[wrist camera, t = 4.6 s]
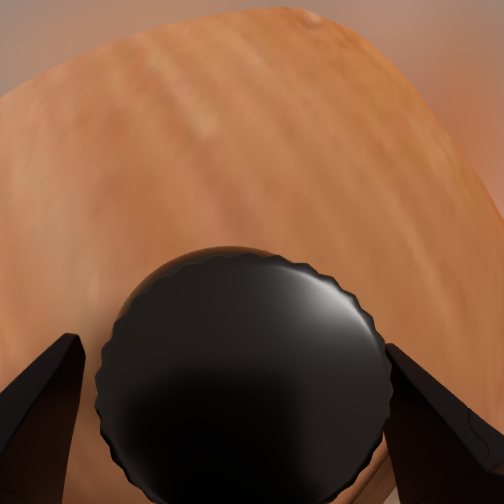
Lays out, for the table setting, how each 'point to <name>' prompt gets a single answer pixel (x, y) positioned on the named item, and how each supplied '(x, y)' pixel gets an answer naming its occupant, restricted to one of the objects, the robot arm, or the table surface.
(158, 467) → the supplement bottle
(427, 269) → the table surface
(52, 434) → the robot arm
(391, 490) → the holder
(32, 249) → the table surface
